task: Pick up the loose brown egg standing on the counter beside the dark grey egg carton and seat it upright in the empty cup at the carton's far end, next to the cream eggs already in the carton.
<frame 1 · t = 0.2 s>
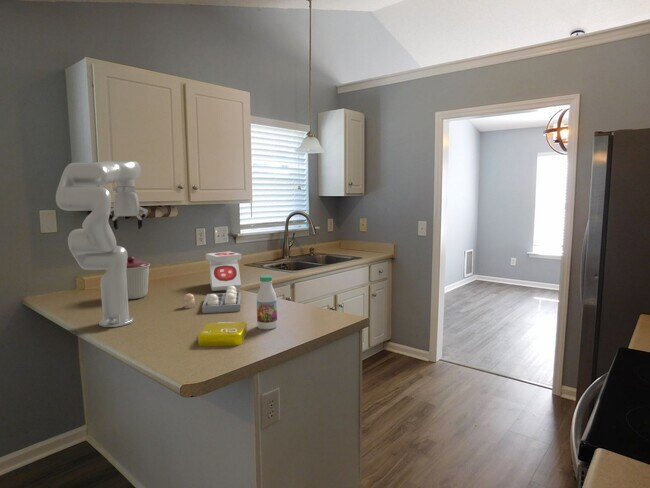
hand: (128, 228, 190), 36 cm above the worktop, tool pointing down, fingers open, 9 cm apart
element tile: (223, 340, 152), on the worktop
brown egg: (189, 307, 194), on the worktop
pizza boxes: (225, 287, 236), on the worktop
egg carton: (222, 305, 197), on the worktop
canister: (133, 297, 214), on the worktop
milk bottle: (267, 327, 164), on the worktop
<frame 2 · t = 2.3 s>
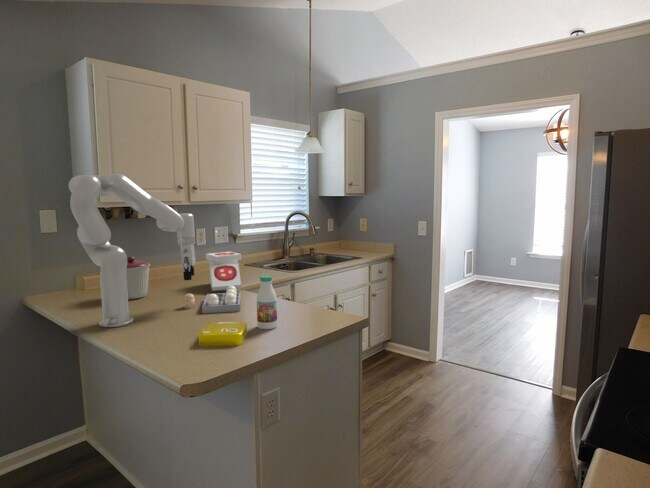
hand: (189, 277, 193), 14 cm above the worktop, tool pointing down, fingers open, 9 cm apart
nothing on the worktop moved.
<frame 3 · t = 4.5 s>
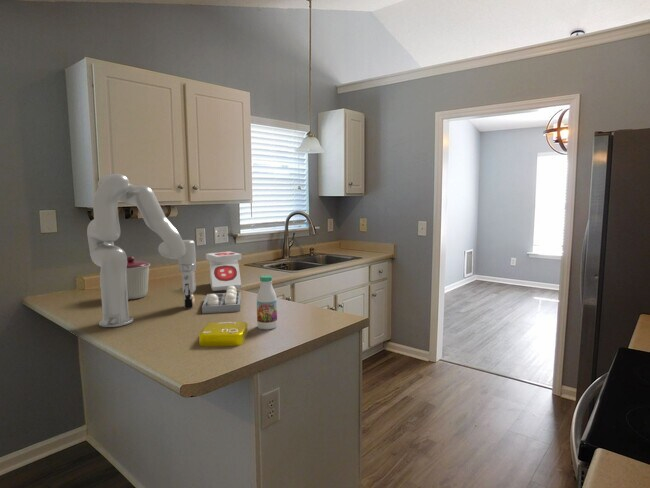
hand: (189, 305, 194), 1 cm above the worktop, tool pointing down, fingers closed on brown egg, 4 cm apart
brown egg: (189, 307, 194), on the worktop, touching gripper
everything else where it was.
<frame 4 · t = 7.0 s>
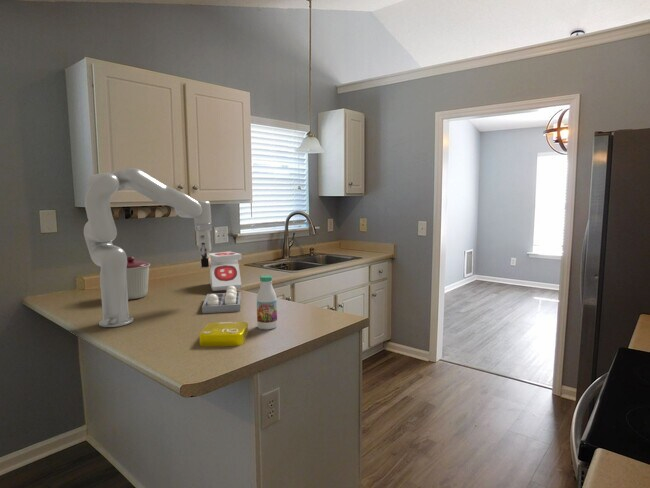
hand: (205, 265, 198), 18 cm above the worktop, tool pointing down, fingers closed on brown egg, 4 cm apart
brown egg: (205, 266, 199), point 18 cm above the worktop, touching gripper
everything else where it was.
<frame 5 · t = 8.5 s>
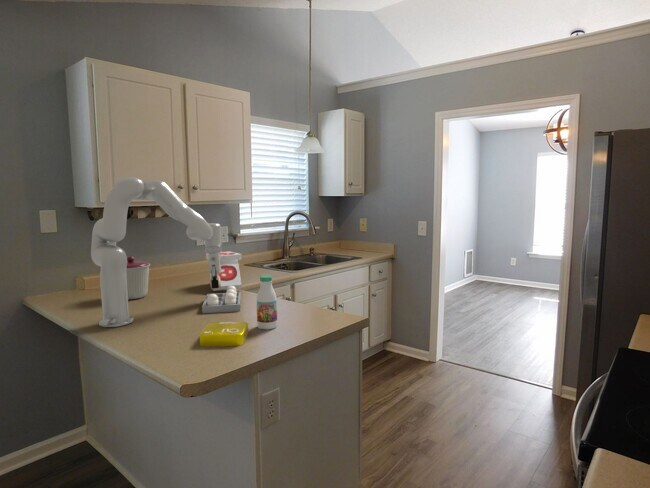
hand: (215, 286, 203), 7 cm above the worktop, tool pointing down, fingers closed on brown egg, 4 cm apart
brown egg: (215, 287, 203), point 7 cm above the worktop, touching gripper
everything else where it was.
when the fingers open (3 cm above the worktop, at t = 9.8 s): brown egg drops 2 cm, resting on egg carton.
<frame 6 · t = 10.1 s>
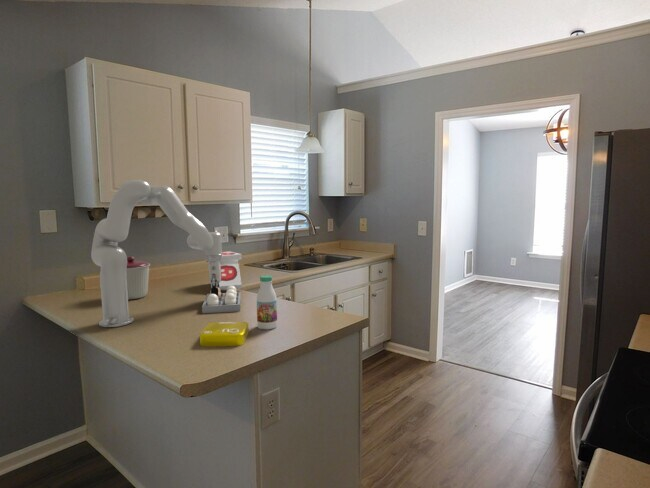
hand: (215, 294, 203), 4 cm above the worktop, tool pointing down, fingers open, 8 cm apart
brown egg: (215, 299, 204), point 1 cm above the worktop, touching egg carton
everything else where it was.
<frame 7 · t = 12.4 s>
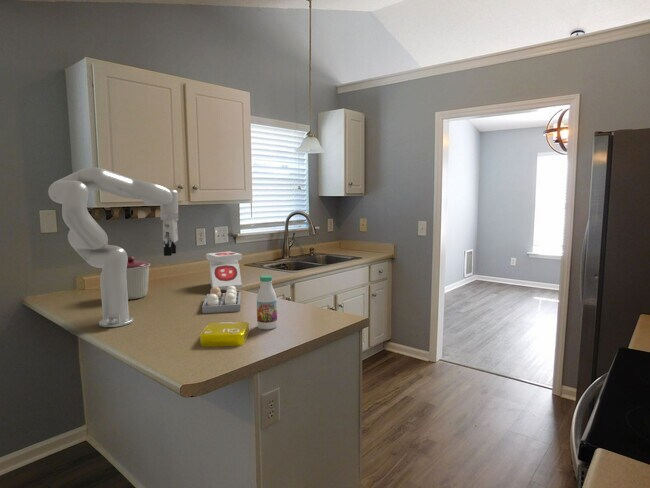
hand: (170, 254, 193), 24 cm above the worktop, tool pointing down, fingers open, 9 cm apart
nothing on the worktop moved.
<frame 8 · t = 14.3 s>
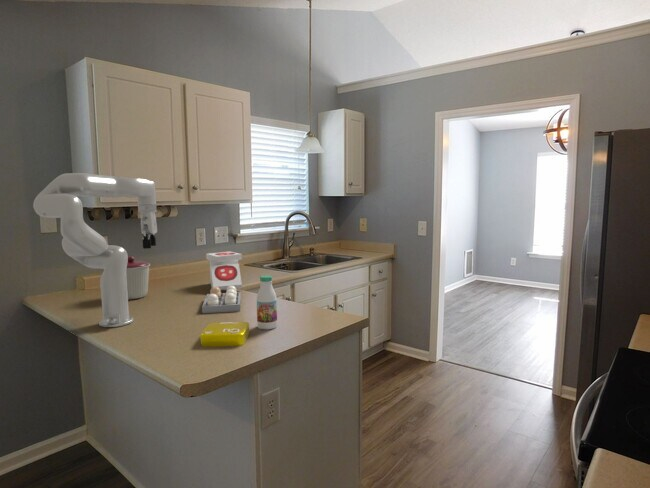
hand: (149, 247, 189), 28 cm above the worktop, tool pointing down, fingers open, 9 cm apart
nothing on the worktop moved.
at the end: brown egg 0.1 cm from the target spot on the egg carton, point 1.0 cm above the egg carton's base; brown egg tilted 0°; the gripper is holding nothing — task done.
